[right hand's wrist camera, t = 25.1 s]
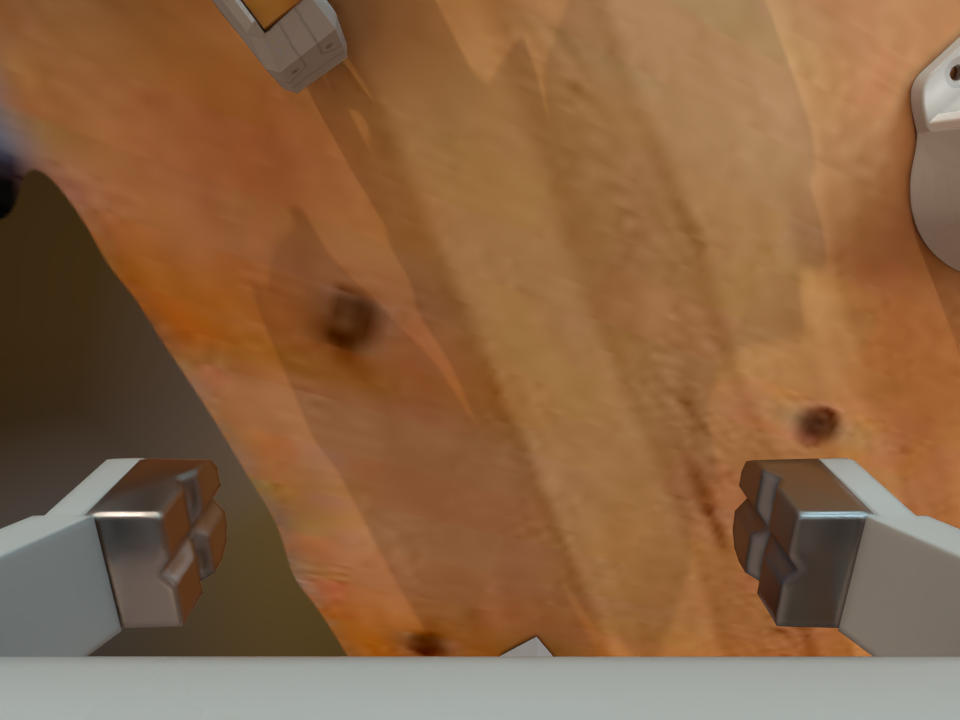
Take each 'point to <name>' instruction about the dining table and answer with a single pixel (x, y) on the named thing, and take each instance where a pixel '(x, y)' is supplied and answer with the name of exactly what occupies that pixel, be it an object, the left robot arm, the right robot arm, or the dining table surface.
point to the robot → (289, 37)
